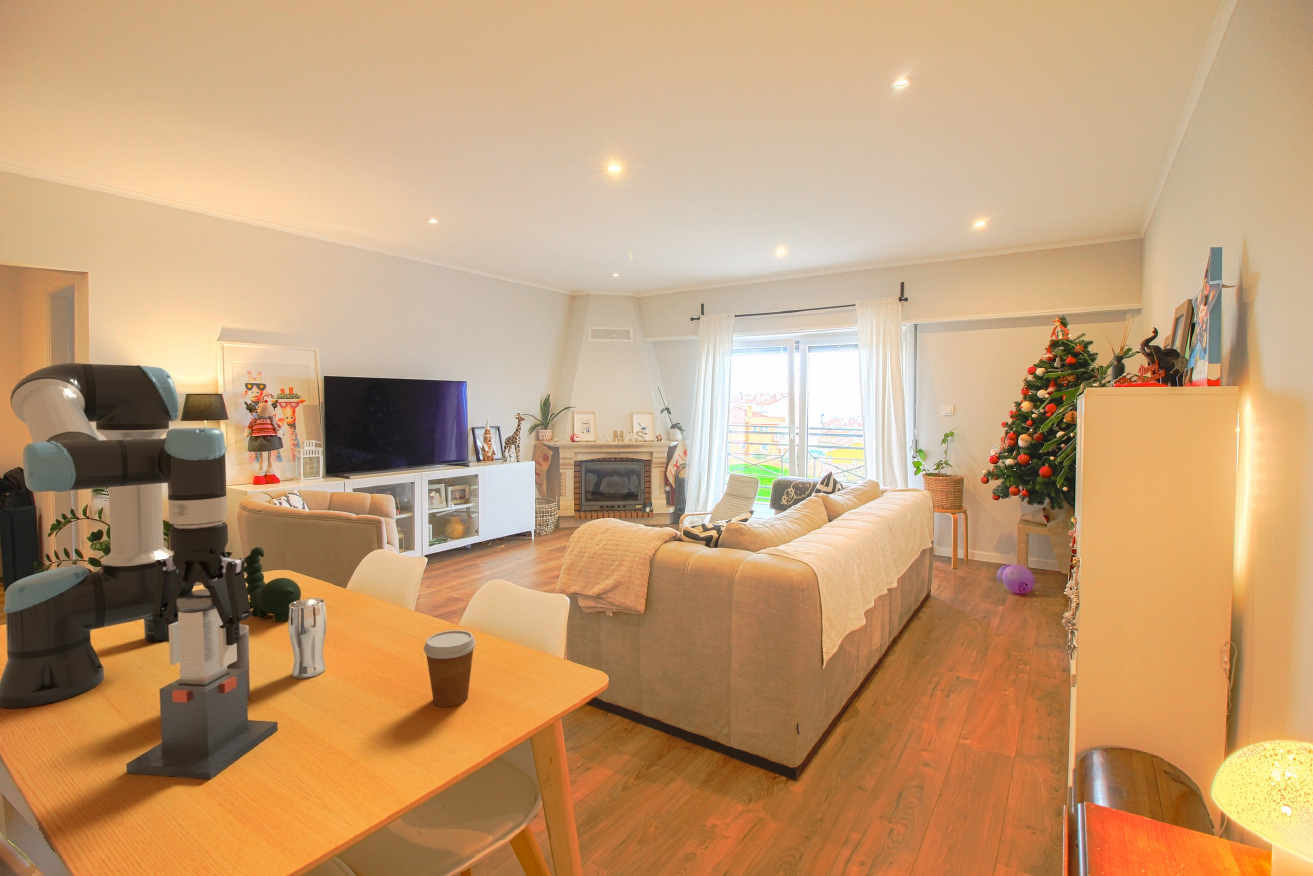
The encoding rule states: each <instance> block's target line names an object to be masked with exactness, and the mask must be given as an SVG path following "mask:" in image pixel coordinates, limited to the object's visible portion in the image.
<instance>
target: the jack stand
mask: <svg viewBox="0 0 1313 876" xmlns="http://www.w3.org/2000/svg"><path fill="white" fill-rule="evenodd" d="M159 707H160V708H159V709H160V710H159V711H160V713H159V715H160V734H161V742H160V743H159V744H157V745H156V746H153V747H152V748H151V749H149V750H147V751H145V752H144V753H142V754H140V755H138V756H137V757H135V758H134V759H132V760H130V761H129V762H128V763H126V774H129V775H130V774H132V775H142V774H145V775H144V776H156V775H163V776H162V777H170V776H172V777H173V778H186V779H197V780H212V779H213V778H215V777H217V775H218V774H221V773H222V772H223V771H224V770H226V769H227V768H228V767H230V766H231V765H233V764H234V763H235V762H236V761H238V760H239V759H241V757H244V756H245V755H246V754H247V753H249V752H250V751H252V750H253V749H254V748H255V747H257V746H258V745H260V744H261V743H263V742H264V741H265V740H266V739H269V737H271V736H272V735H273V734H275V733H276V732H277V731H278V728H279V727H278V721H270V720H269V721H267V720H253V719H251V720H250V719H249V712H248V711H249V710H248V700H247V676H246V669H228V668H227V675H226V676H224V677H222V678H221V679H219V680H217V681H215V682H213V683H211V684H210V685H208V686H206V687H202V686H184V685H181V678H179V679H176V680H174V681H172V682H171V683H169V684H166V685H164V686H162V687H160V688H159Z"/></svg>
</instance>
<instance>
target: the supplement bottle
mask: <svg viewBox="0 0 1313 876" xmlns="http://www.w3.org/2000/svg"><path fill="white" fill-rule="evenodd" d="M143 628H144V629H143V630H144V631H143V632H144V640H145V642H146V643H151V642H156V643H163V642H167V640H166V625H165V624H164V623H163V621H162V620H160V619H157V620H155V619H153V618H151V619H143ZM162 641H163V642H162Z"/></svg>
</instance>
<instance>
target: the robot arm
mask: <svg viewBox="0 0 1313 876" xmlns="http://www.w3.org/2000/svg"><path fill="white" fill-rule="evenodd" d="M10 393H11V394H10V399H9V400H10V405H11V410H12V411H13V413H14V415H15V416H16V418H18V419H19V420H20V421H21V422H23V423H24V424H26V426H27V429H28V431H29V435H30V437H31V440H32V443H31V442H30V443H28V444H26V445H25V446H24V448H23V453H22V465H23V466H22V467H23V477H24V483H25V486H26V488H27V489H28V490H29V491H31V492H34V493H43V492H45V493H46V492H57V493H63V492H69V491H71V492H72V491H79V490H81V491H82V490H90V489H91V490H92V489H95V490H96V489H104V488H105V489H106V488H108V504H109V505H108V507H109V528H110V529H109V532H110V536H109V537H110V539H109V540H110V552H109V554H107V555H106V556H105V557H104V558H103V559H102V560H101V570H97V571H90V570H89V569H88V568H87V567H86V566H83V565H73V566H70V567H69V566H65V567H59V568H54V569H50V570H45V571H42V572H39V573H35V574H32V575H29V576H26V577H23V578H21V579H19V580H17V581H14V582H13V583H12V584H10V585H9V586H8V587H7V588H6V590H5V593H4V607H3V609H2V610H3V612H4V613H5V626H6V629H5V631H6V654H7V661H6V664H5V667H4V670H3V672H2V675H1V678H0V707H1V708H5V709H18V708H28V707H34V706H41V705H48V704H50V703H55V702H59V701H62V700H66V699H69V698H72V697H75V696H78V695H80V694H83V693H85V692H87V691H90V690H92V689H93V688H96V687H97V686H98V685H100V684H101V683H102V682H103V681H104V679H105V671H104V670H105V668H104V665H103V664H102V663H101V661H100V658H99V656H98V654H97V652H96V651H95V649H94V647H93V645H92V638H91V631H92V630H97V629H101V628H102V629H103V628H107V627H112V626H117V625H121V624H125V623H130V622H131V623H132V622H135V621H141V620H144V619H151V618H153V619H155V620H157V619H160V620H162V621H163V623H164V624H165V625H166V640H167V641H166V642H167V643H168V648H169V665H171V666H172V665H173V666H176V665H177V664H180V652H179V626H178V612H177V607H176V597H177V596H180V595H183V594H186V593H188V592H191V591H194V586H195V584H196V583H201V584H202V586H203V589H208V591H209V593H210V595H211V597H212V600H213V602H214V605H215V607H216V609H217V612H218V614H219V616H220V618H221V621H222V623H223V625H221V626H219V627H218V641H219V667H226V666H227V665H229V664H231V663H233V662H235V661H237V643H238V642H239V640H240V628H239V624H241V622H243V621H246V620H248V619H250V618H251V617H252V616H253V615H252V613H251V611H252V609H251V608H250V603H249V602H250V600H249V595H248V592H247V583H246V582H245V578H246V577H245V572H244V567H246V563H245V560H244V558H238V559H234V558H230V557H229V556H228V555H227V552H226V547H227V545H228V543H229V528H228V527H229V526H228V523H226V521H225V520H227V519H228V501H227V499H228V497H227V496H228V495H227V471H226V461H227V460H226V452H227V446H226V443H225V434H224V432H223V430H222V429H221V428H219V427H176V428H175V427H174V428H171V429H170V422H174V421H177V420H178V419H179V416H180V412H179V411H180V403H179V396H178V391H177V388H176V385H175V382H174V381H173V377H171V374H170V373H169V371H167V370H166V369H163V368H161V367H158V366H157V367H156V366H146V365H140V364H139V365H138V364H137V365H133V364H131V365H128V364H105V363H104V364H102V363H101V364H99V363H81V362H80V363H79V362H67V363H58V364H53V365H50V366H49V365H48V366H46V367H42V368H40V369H37V370H35V371H33V372H31V373H29V374H28V375H26V376H25V377H23V378H22V379H20V380H19V381H18V382H17V383H16V384H15V385H14V387H13V389H12V390H11V392H10ZM90 422H91V423H95V427H96V428H95V429H94V428H93V426H92V424H91V423H90ZM95 431H96V432H98V433H99V434H100V435H102V436H103V437H104V438H105V439H102V440H101V439H99V437H98V436H97V433H96V432H95ZM164 434H165V437H164V438H162V436H163V435H164ZM163 484H167V502H168V507H167V508H168V523H169V524H170V525H172V526H171V527H170V528H169V529H168V535H169V540H168V541H169V549H170V550H169V549H168V548H166V547H165V546H164V513H163V512H164V511H163V509H164V508H163V486H162V485H163ZM173 552H174V553H173Z"/></svg>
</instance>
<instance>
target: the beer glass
mask: <svg viewBox="0 0 1313 876" xmlns="http://www.w3.org/2000/svg"><path fill="white" fill-rule="evenodd" d="M327 624H328V623H327V609H326V600H325V599H324V598H319V597H311V598H303V599H302V598H301V599H300V600H298V601H295V602H293V603H291V604H290V605H289V620H288V624H287V625H288V634H289V638H290V642H291V643H290V644H291V647H292V652H293V658H294V659H293V668H292V674H291V675H292V677H293V678H295V679H301V680H302V679H311V678H314V677H317V676H319V675H322V674H323V673H324V672H325V671H326V664H325V660H324V645H325V639H326V633H327Z"/></svg>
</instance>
